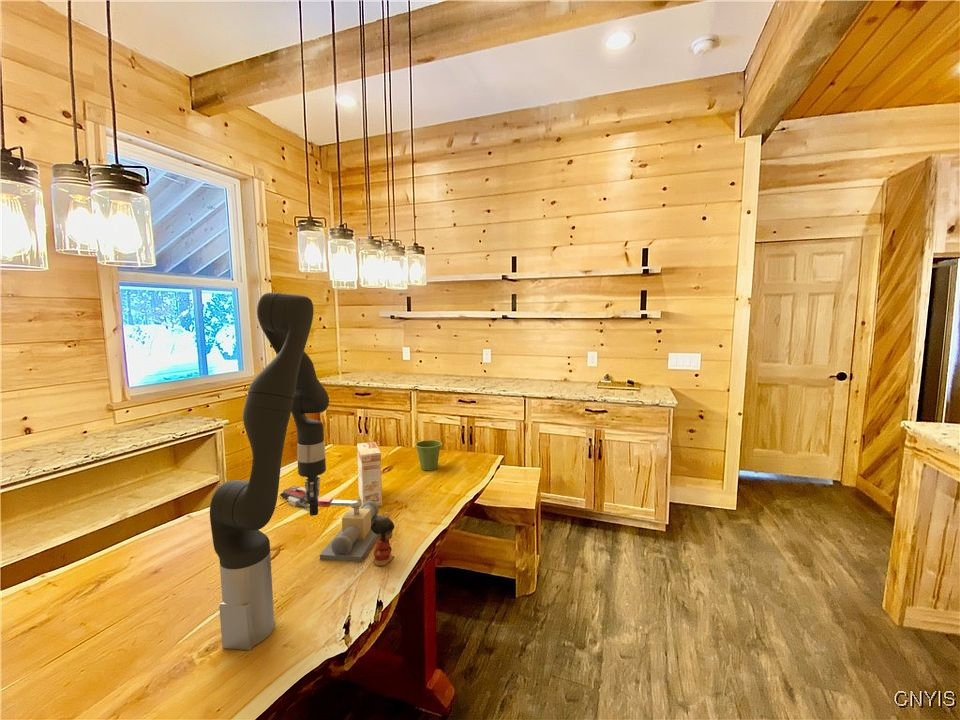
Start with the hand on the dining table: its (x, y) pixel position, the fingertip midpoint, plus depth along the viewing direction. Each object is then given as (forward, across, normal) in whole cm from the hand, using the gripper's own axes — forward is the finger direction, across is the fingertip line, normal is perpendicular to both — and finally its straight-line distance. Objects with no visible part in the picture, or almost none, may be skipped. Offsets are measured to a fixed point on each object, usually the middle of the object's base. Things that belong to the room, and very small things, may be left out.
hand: (314, 514), depth 121 cm
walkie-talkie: (+10, +34, +6) cm, 36 cm away
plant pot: (+10, +51, -45) cm, 69 cm away
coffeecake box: (+10, +27, -18) cm, 34 cm away
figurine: (+10, -15, -18) cm, 25 cm away
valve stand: (+10, 0, -12) cm, 15 cm away
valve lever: (-1, +3, -6) cm, 7 cm away
